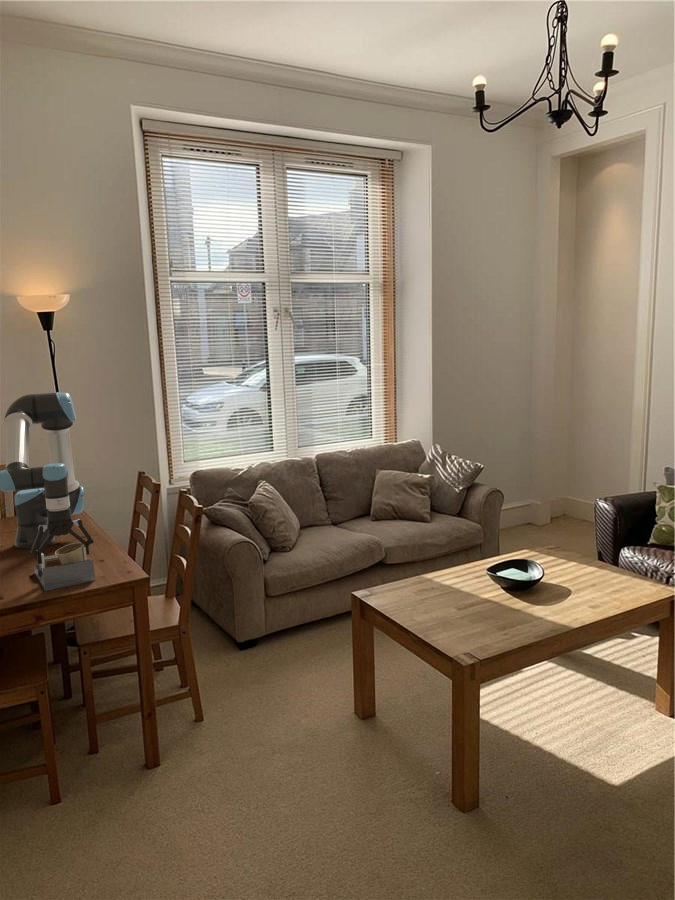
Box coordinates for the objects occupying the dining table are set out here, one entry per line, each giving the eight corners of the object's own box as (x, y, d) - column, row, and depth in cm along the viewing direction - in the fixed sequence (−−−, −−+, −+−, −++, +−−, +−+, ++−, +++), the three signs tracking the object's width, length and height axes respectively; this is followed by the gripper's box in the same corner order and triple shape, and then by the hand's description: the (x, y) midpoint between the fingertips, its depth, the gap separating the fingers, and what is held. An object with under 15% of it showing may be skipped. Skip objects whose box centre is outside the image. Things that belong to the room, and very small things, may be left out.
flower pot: (95, 562, 236) (87, 540, 234) (82, 574, 227) (74, 552, 225) (71, 566, 237) (63, 544, 235) (57, 578, 228) (49, 556, 226)
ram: (40, 568, 237) (39, 557, 237) (77, 561, 244) (76, 550, 243) (42, 571, 234) (41, 561, 233) (79, 564, 240) (78, 553, 240)
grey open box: (34, 573, 239) (32, 553, 237) (81, 564, 247) (79, 544, 246) (45, 591, 220) (42, 569, 219) (94, 580, 228) (92, 559, 227)
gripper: (20, 516, 217) (27, 578, 220) (98, 504, 230) (104, 563, 233) (17, 512, 223) (24, 572, 227) (93, 501, 236) (99, 558, 240)
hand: (65, 568), depth 230 cm, fingers open, 13 cm apart
